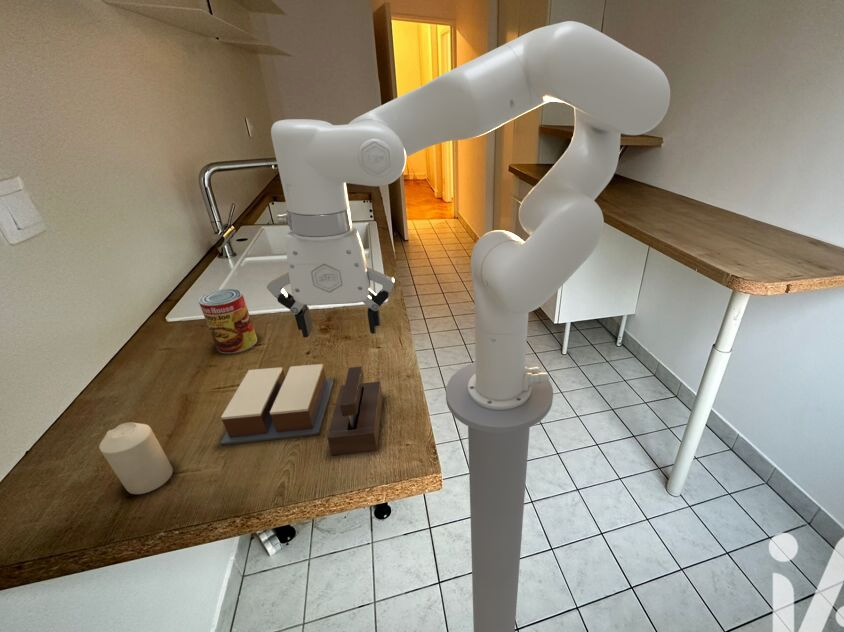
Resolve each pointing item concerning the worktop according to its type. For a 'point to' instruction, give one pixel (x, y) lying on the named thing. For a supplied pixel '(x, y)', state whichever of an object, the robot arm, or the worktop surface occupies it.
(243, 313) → the canned food
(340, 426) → the knife block
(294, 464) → the worktop surface
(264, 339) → the worktop surface
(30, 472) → the worktop surface
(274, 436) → the cake
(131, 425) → the candle
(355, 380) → the cake cutter
